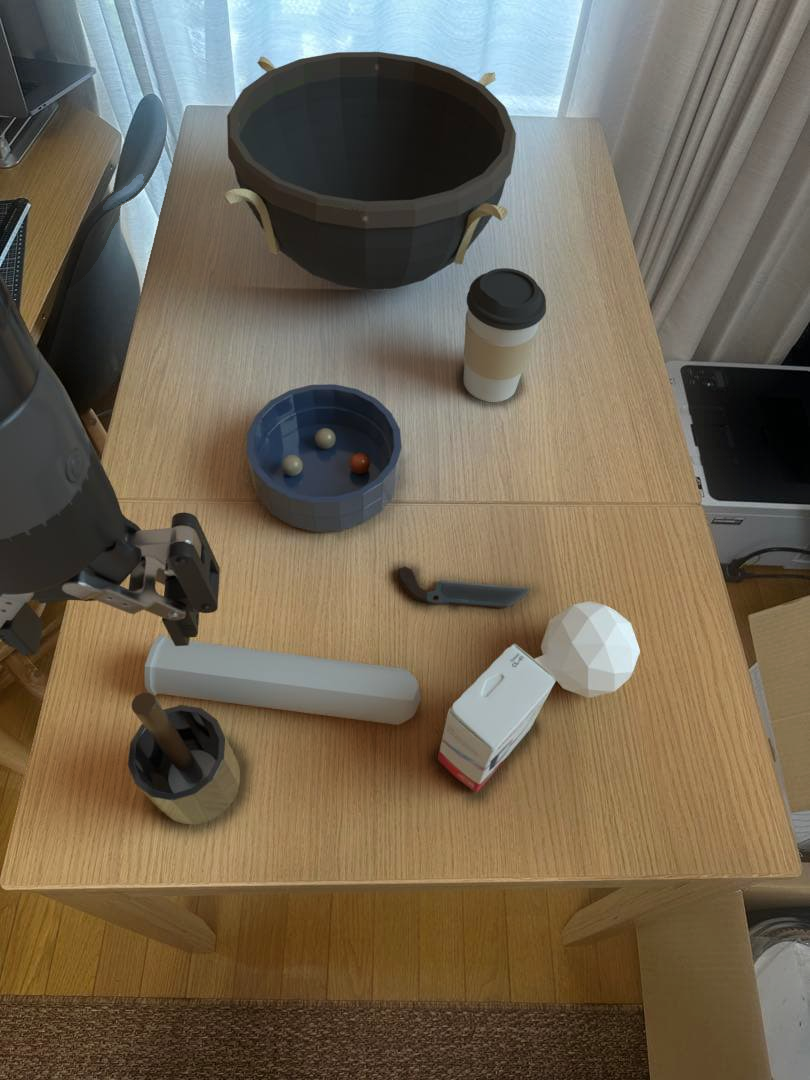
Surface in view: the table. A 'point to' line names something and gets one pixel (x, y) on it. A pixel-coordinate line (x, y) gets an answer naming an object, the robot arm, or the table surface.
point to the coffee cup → (500, 331)
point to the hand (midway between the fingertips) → (109, 635)
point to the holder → (154, 764)
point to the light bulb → (589, 649)
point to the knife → (462, 592)
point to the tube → (281, 681)
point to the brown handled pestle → (172, 745)
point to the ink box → (493, 716)
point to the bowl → (370, 164)
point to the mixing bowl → (324, 457)
